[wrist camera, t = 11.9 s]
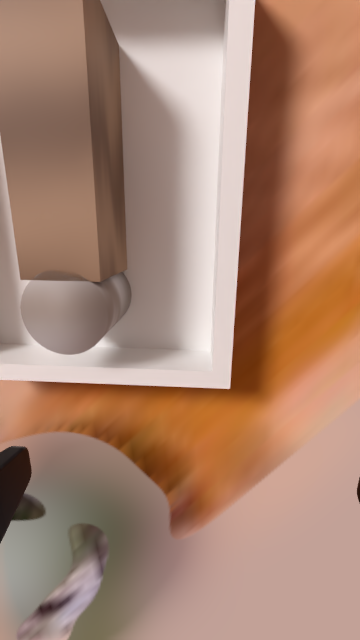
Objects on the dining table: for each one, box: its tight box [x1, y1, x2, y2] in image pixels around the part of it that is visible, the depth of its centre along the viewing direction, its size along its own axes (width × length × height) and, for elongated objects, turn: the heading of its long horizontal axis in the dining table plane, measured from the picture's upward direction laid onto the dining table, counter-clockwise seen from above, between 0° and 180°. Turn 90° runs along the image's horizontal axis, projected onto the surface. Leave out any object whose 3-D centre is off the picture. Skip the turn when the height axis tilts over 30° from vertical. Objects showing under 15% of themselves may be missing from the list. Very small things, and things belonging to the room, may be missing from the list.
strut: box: [0, 0, 131, 355], centre depth 14 cm, size 14×4×5 cm, turn 179°
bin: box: [0, 0, 255, 389], centre depth 16 cm, size 16×20×4 cm
